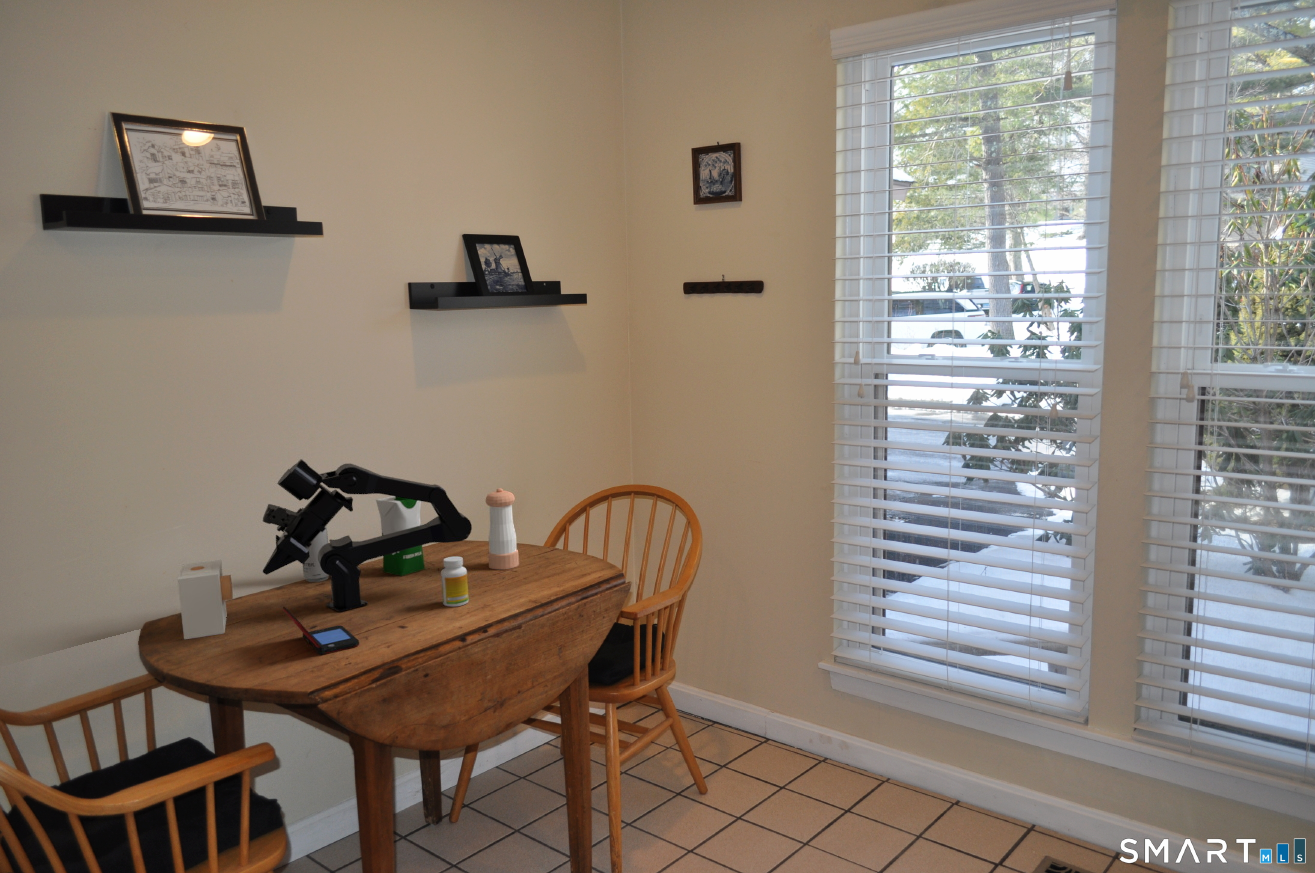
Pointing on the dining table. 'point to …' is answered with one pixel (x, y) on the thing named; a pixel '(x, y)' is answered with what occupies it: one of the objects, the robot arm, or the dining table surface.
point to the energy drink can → (315, 559)
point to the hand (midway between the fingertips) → (264, 573)
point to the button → (226, 587)
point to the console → (202, 599)
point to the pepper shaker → (502, 531)
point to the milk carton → (398, 518)
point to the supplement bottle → (454, 582)
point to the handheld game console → (327, 637)
